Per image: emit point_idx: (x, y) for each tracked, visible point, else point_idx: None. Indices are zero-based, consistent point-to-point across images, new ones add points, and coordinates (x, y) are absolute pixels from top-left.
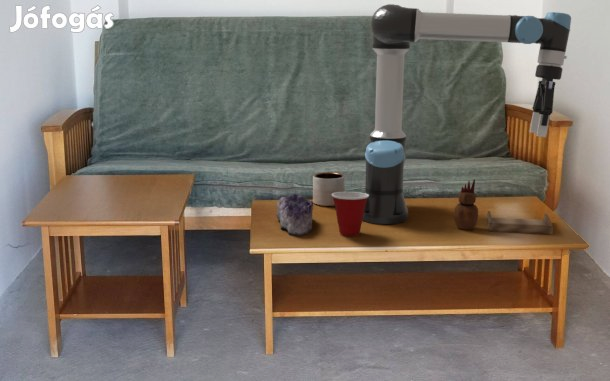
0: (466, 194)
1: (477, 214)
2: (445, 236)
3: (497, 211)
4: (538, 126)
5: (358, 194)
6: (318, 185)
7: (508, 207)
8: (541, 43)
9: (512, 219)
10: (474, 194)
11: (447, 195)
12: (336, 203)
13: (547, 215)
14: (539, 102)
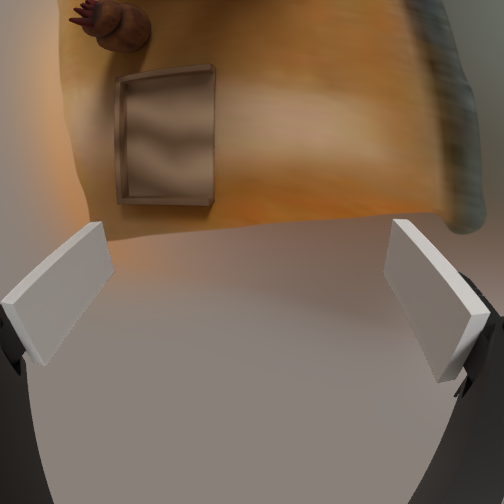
0: (82, 17)
1: (111, 50)
2: None
3: (291, 94)
4: (57, 250)
5: None
6: None
7: (337, 128)
8: None
9: (204, 123)
10: (89, 31)
11: (425, 10)
12: None
13: (193, 204)
14: (446, 461)
